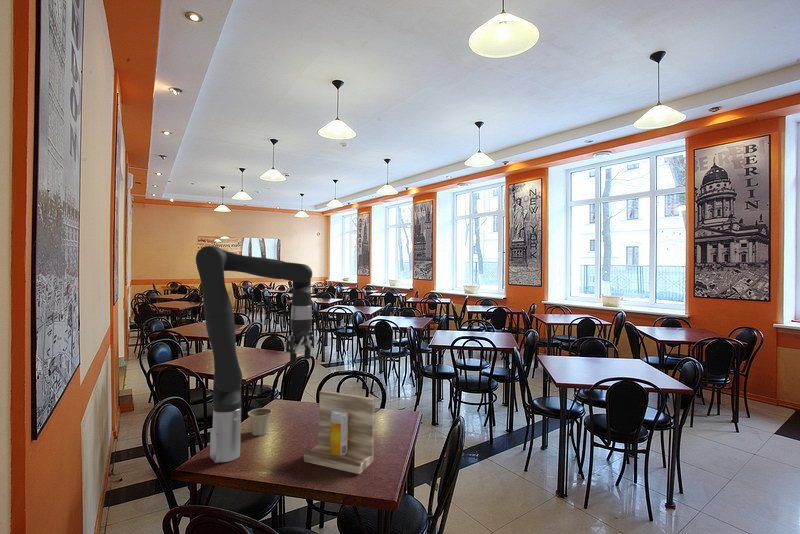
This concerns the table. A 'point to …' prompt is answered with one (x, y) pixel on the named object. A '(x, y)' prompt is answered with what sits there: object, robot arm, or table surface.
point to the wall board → (358, 432)
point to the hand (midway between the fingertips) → (300, 361)
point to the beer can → (339, 432)
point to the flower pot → (260, 420)
